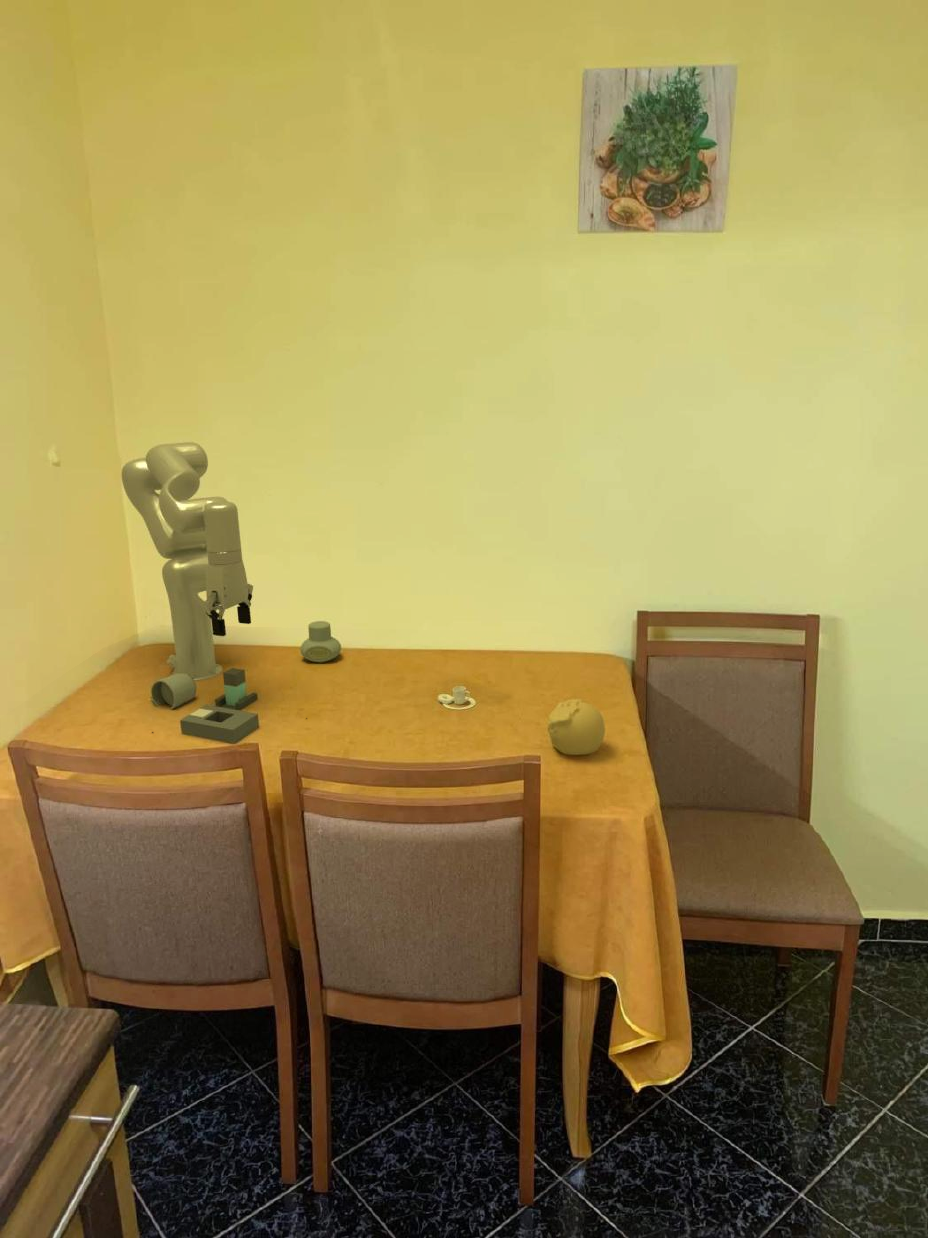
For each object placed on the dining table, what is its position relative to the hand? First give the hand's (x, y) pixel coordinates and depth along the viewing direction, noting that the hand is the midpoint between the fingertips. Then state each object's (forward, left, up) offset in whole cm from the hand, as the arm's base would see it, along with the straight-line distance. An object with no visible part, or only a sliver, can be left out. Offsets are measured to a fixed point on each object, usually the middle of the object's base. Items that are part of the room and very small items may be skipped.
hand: (232, 629), depth 201 cm
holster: (-1, 0, -19) cm, 19 cm away
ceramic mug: (-16, -5, -20) cm, 26 cm away
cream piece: (+46, +23, -20) cm, 55 cm away
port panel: (+5, -14, -19) cm, 25 cm away
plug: (-1, 0, -18) cm, 18 cm away
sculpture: (+80, +7, -19) cm, 83 cm away
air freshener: (+1, +35, -20) cm, 40 cm away
